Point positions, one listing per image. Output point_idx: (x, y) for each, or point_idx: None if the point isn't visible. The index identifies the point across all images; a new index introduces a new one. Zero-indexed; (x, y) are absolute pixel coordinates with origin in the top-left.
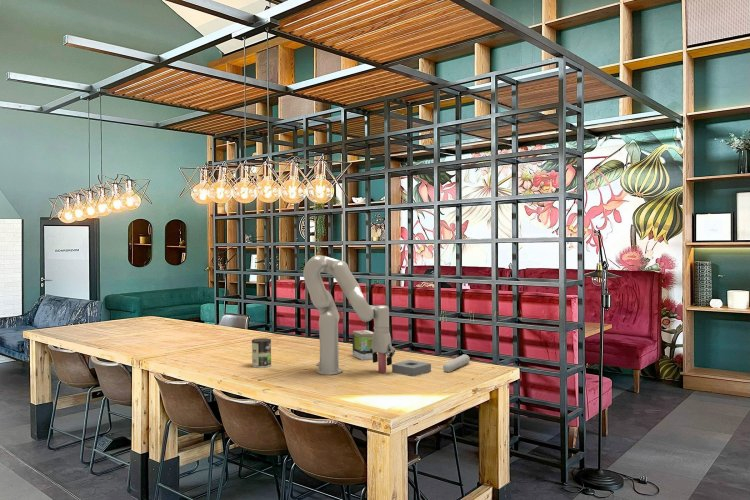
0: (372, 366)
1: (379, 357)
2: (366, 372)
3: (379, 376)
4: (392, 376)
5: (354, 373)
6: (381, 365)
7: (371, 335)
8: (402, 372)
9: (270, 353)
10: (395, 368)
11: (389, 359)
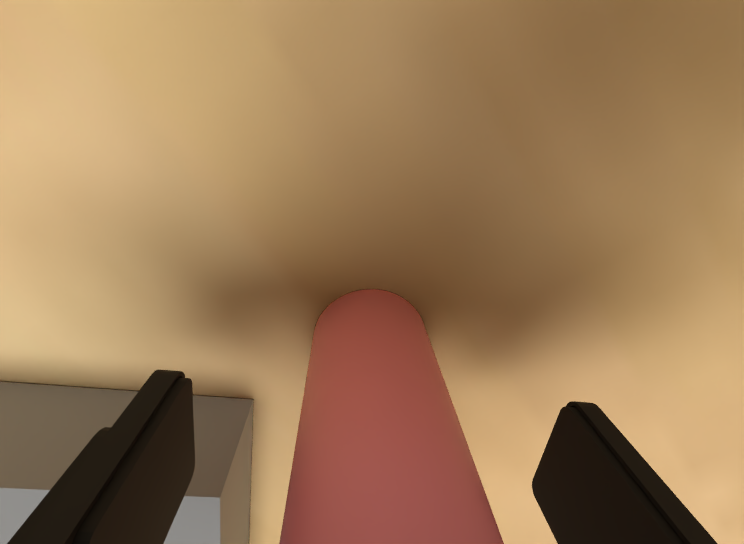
0: None
1: (409, 500)
2: (566, 197)
3: (211, 69)
4: (42, 199)
5: (736, 12)
6: (343, 358)
7: None
8: (36, 401)
9: None
10: None
11: (38, 511)
